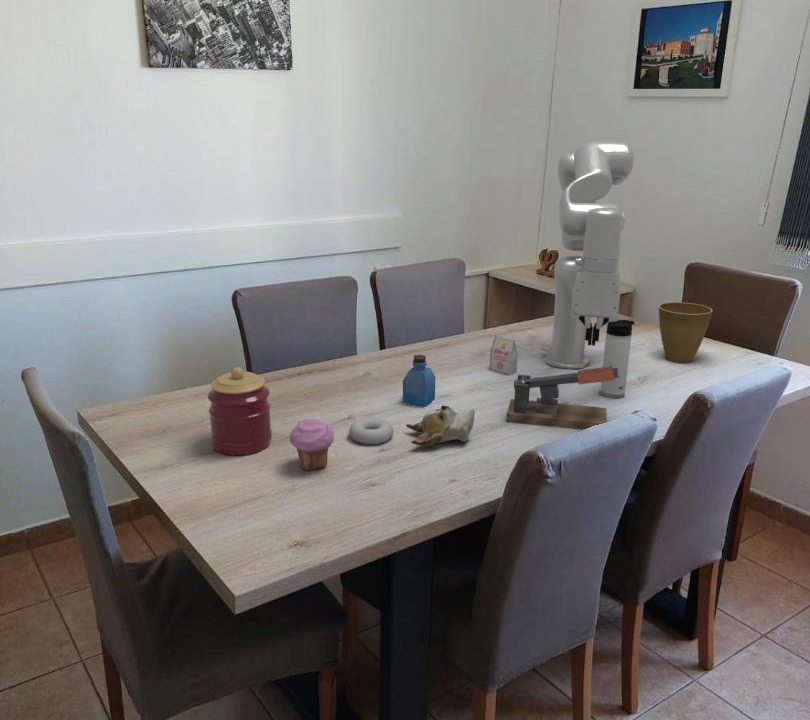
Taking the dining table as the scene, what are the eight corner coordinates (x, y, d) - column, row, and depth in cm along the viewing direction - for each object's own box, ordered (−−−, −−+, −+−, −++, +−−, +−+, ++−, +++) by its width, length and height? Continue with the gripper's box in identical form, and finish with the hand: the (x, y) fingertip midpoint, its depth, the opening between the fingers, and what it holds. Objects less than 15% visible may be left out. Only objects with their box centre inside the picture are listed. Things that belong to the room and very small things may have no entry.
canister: (242, 462, 148) (237, 382, 143) (198, 447, 155) (191, 370, 149) (284, 439, 159) (280, 364, 153) (241, 426, 165) (236, 354, 160)
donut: (366, 451, 154) (402, 439, 160) (366, 437, 153) (402, 425, 159) (340, 436, 161) (375, 425, 167) (340, 422, 160) (375, 411, 166)
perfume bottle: (434, 399, 183) (436, 355, 179) (425, 407, 177) (426, 362, 173) (412, 395, 185) (413, 351, 181) (402, 403, 180) (403, 358, 176)
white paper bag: (497, 366, 207) (499, 333, 204) (516, 372, 203) (518, 338, 199) (489, 369, 205) (491, 336, 201) (508, 375, 200) (510, 341, 197)
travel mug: (626, 399, 184) (635, 324, 177) (600, 397, 185) (608, 323, 178) (624, 391, 189) (633, 318, 183) (599, 389, 191) (606, 316, 184)
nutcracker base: (506, 421, 169) (508, 386, 167) (510, 406, 179) (512, 372, 176) (606, 432, 164) (610, 395, 161) (605, 415, 173) (609, 380, 171)
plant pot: (709, 356, 218) (717, 305, 213) (699, 370, 206) (707, 316, 201) (659, 348, 225) (665, 299, 220) (646, 361, 213) (653, 309, 208)
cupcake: (297, 478, 142) (295, 432, 138) (286, 460, 149) (284, 416, 146) (340, 470, 145) (339, 425, 142) (327, 453, 153) (326, 409, 149)
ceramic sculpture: (479, 412, 152) (410, 418, 151) (480, 448, 155) (412, 455, 154) (469, 394, 162) (404, 400, 161) (470, 429, 165) (406, 435, 164)
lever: (516, 403, 170) (512, 383, 169) (518, 396, 174) (514, 377, 173) (620, 391, 163) (617, 370, 162) (619, 384, 167) (616, 364, 166)
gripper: (564, 266, 156) (557, 346, 162) (635, 270, 153) (625, 351, 159) (565, 260, 163) (559, 336, 169) (633, 263, 160) (624, 341, 166)
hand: (591, 343), depth 164 cm, fingers closed
